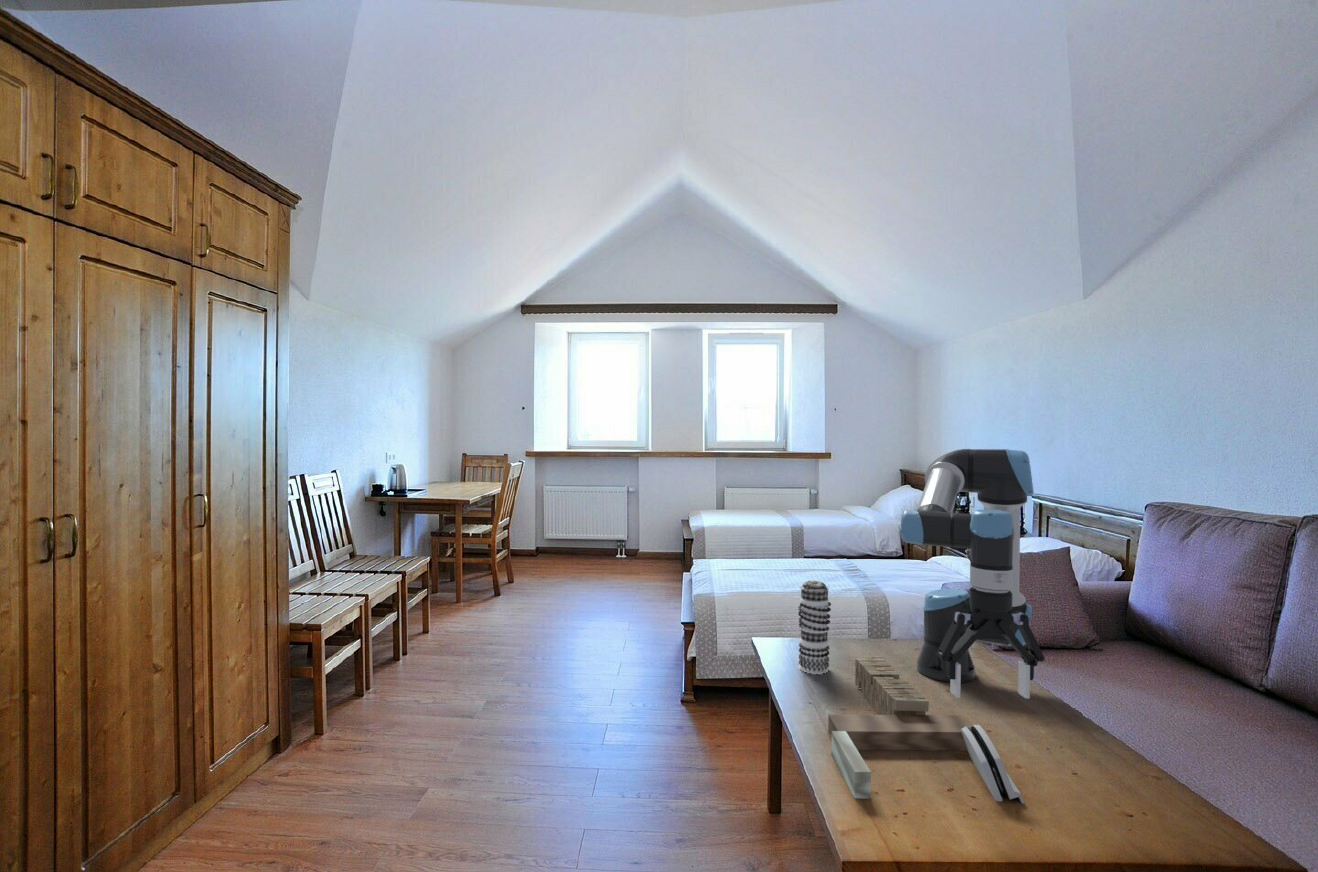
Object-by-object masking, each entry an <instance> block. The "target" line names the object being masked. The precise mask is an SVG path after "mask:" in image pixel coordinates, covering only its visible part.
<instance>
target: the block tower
mask: <svg viewBox="0 0 1318 872" xmlns="http://www.w3.org/2000/svg"><path fill="white" fill-rule="evenodd" d="M854 661H855V663H854V664H855V668H854V669H855V670H854V672H855V674H854V675H855V679H854V680H855V681H854V683H855V684H854V685H856V686H858V688H861V690H860V693H861V692H862V693H863V694H862V693H861V694H862V696H863V695H864V696H863V697H864V698H865V697H866V698H867V699H868V700H869V701H868V700H867V699H866V700H867V701H868V703H869V702H870V703H869V704H870V706H872V708H873V709H874V708H875V709H876V710H875V709H874V710H875V711H876V712H878V713H877V715H926V713H927V712H928V713H929V709H930V708H929V707H930V706H929V705H930V701H929V700H928V699H927V698H926V697H925V696H924V695H922V694H921V693H920V692H919V691H918V690H917V689H915V687H914V686H913V685H912V684H911V683H909V681H908V680H907V679H905V678H904V679H901V678H900V674H899V672H898V671H897V670H895V669H894V667H892V666H891V664H890V663H888V662H887V661H886V659H884V658H883V656H881V655H872V656H870V655H863V656H862V657H858V658H857V657H855V660H854ZM856 686H855V687H856ZM858 688H857V689H858Z"/></svg>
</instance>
